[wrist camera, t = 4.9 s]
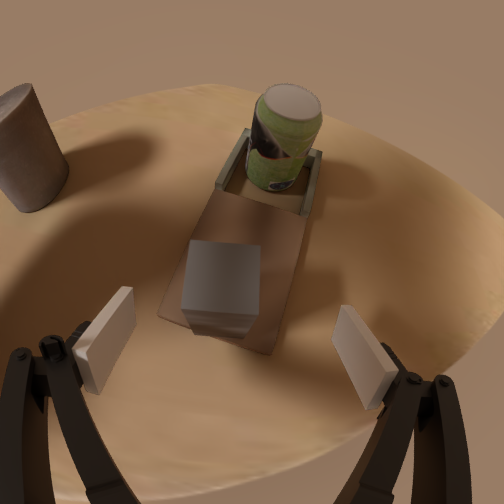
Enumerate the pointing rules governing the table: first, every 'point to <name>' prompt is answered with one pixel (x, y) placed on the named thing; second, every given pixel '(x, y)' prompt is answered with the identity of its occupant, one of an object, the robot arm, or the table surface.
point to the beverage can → (282, 135)
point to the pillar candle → (28, 152)
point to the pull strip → (272, 260)
